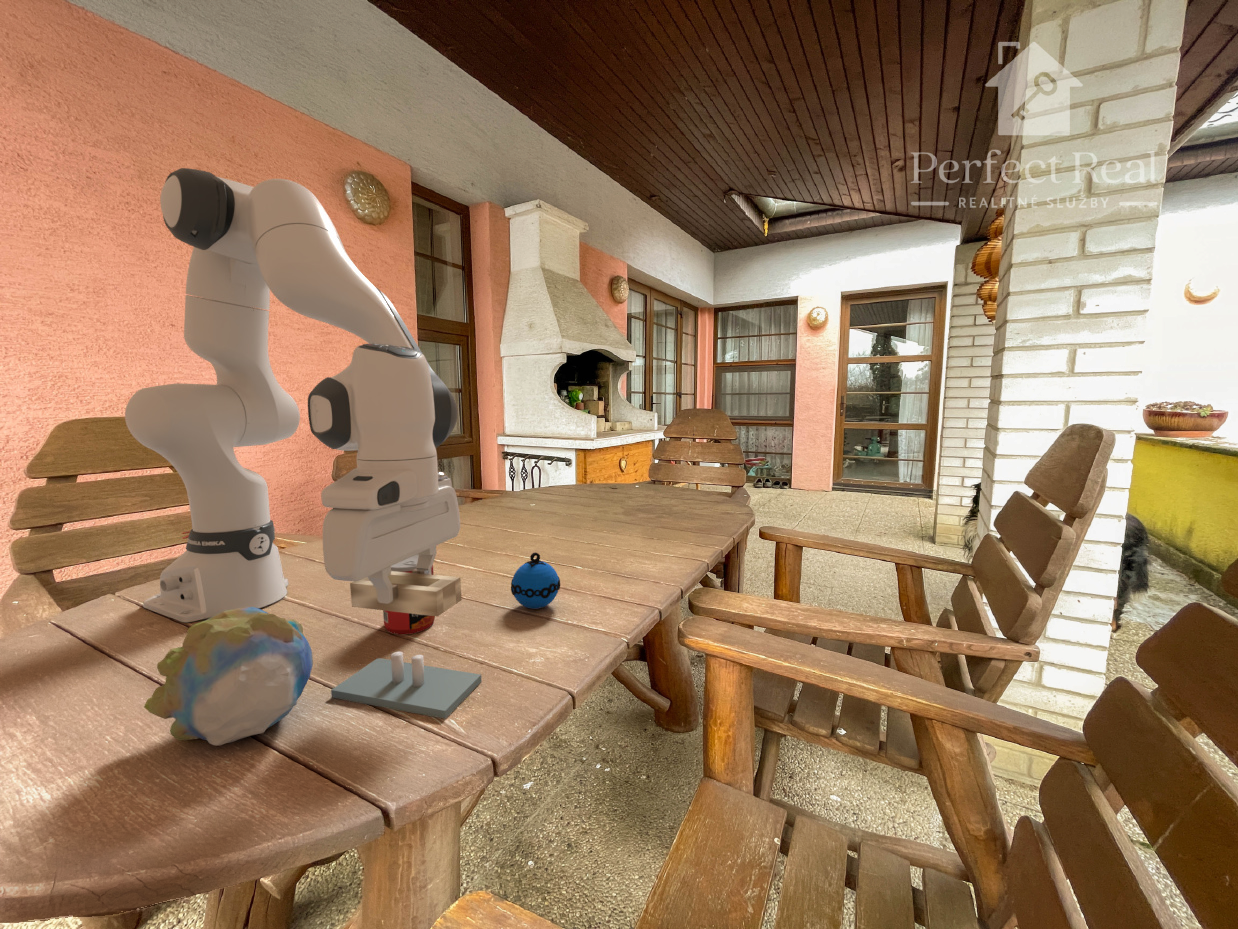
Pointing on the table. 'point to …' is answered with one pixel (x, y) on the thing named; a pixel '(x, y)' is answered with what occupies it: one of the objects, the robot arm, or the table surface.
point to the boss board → (408, 686)
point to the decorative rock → (233, 676)
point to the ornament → (535, 583)
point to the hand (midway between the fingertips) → (406, 591)
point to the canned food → (406, 621)
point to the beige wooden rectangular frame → (411, 593)
